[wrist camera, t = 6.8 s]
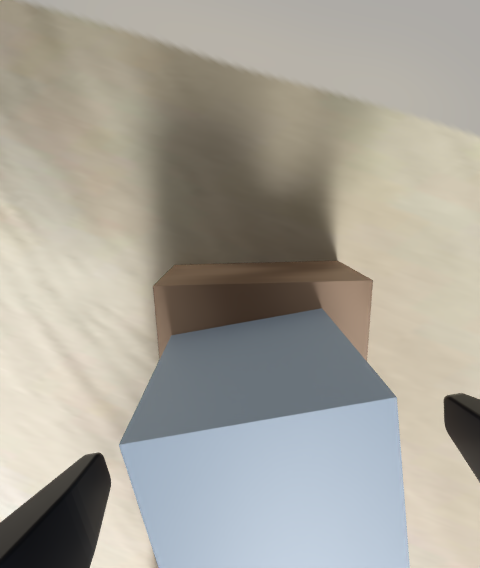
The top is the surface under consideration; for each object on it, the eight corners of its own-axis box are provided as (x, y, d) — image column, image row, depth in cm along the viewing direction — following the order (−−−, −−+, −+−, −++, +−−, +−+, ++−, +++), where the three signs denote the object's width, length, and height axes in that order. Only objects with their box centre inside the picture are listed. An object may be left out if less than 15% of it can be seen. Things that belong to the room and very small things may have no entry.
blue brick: (322, 308, 11) (396, 397, 6) (339, 438, 12) (412, 603, 7) (171, 335, 11) (118, 445, 6) (203, 460, 12) (181, 637, 7)
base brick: (335, 259, 14) (372, 280, 10) (329, 401, 16) (359, 464, 12) (175, 263, 14) (153, 286, 10) (185, 405, 16) (169, 470, 12)
